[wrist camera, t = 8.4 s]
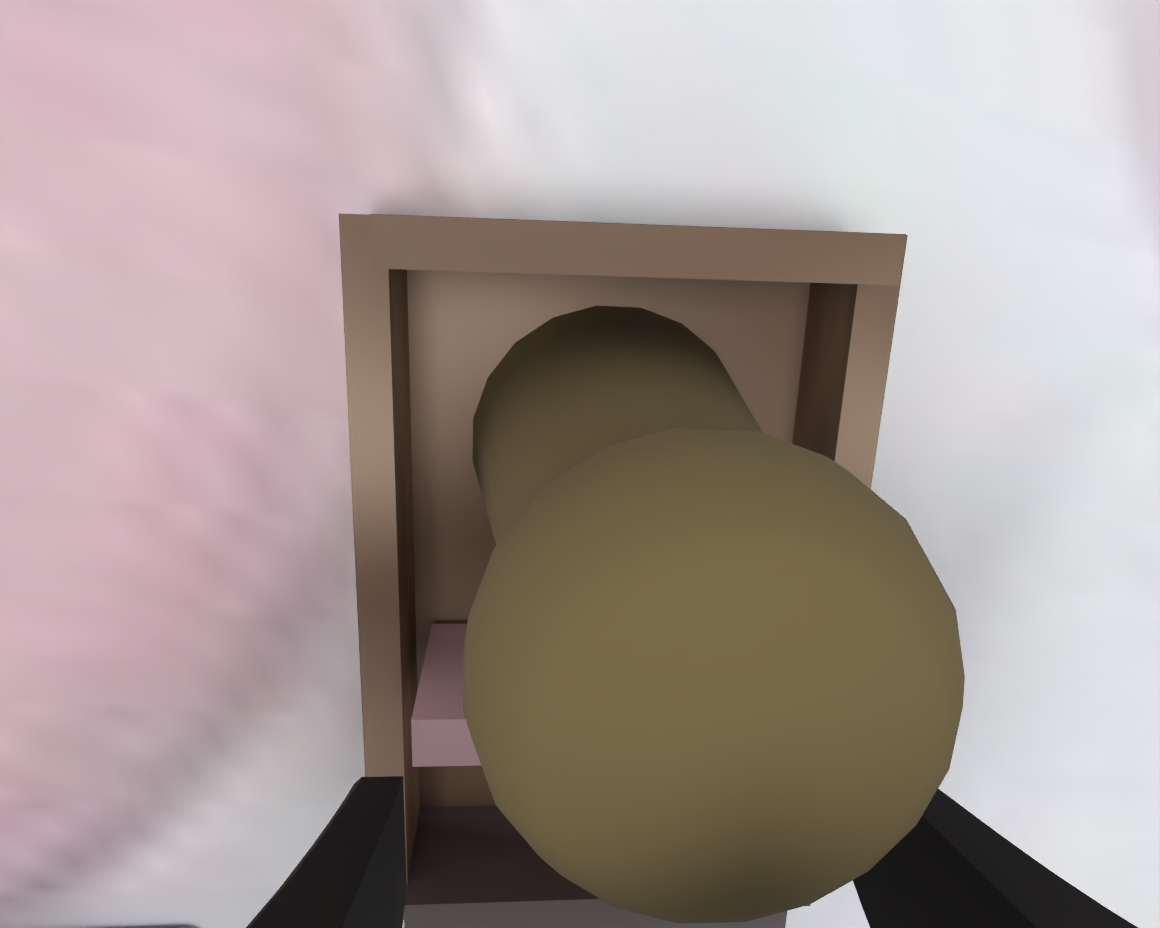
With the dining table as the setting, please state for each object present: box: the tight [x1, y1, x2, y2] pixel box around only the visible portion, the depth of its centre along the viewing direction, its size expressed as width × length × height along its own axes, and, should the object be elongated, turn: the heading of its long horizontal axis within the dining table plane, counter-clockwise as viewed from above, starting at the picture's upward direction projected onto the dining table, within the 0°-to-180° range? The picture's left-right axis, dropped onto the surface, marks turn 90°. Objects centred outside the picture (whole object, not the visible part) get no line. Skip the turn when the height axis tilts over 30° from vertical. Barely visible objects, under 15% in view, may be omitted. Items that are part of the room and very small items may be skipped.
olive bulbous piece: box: [463, 305, 965, 924], centre depth 12 cm, size 6×6×11 cm
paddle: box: [411, 624, 481, 767], centre depth 17 cm, size 1×8×4 cm, turn 88°
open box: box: [339, 214, 907, 928], centre depth 17 cm, size 15×10×5 cm, turn 178°
